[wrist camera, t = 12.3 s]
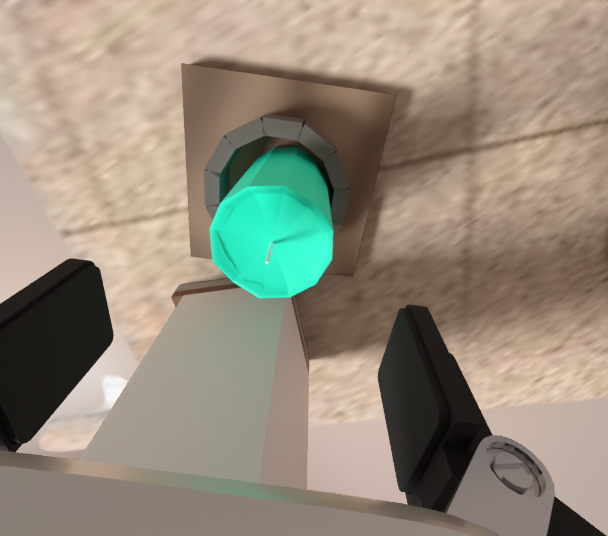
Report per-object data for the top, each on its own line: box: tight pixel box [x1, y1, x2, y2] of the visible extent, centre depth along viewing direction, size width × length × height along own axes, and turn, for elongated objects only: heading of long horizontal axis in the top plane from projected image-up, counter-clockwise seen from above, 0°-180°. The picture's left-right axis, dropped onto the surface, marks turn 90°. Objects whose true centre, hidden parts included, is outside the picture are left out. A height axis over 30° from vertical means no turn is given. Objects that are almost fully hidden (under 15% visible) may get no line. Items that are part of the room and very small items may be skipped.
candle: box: [210, 147, 333, 298], centre depth 19 cm, size 6×6×12 cm
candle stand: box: [181, 63, 396, 277], centre depth 24 cm, size 14×14×4 cm
